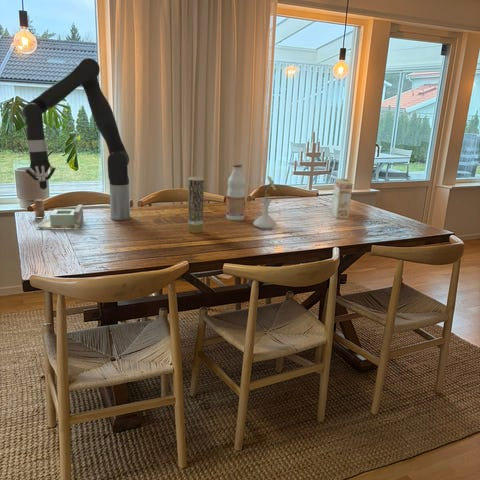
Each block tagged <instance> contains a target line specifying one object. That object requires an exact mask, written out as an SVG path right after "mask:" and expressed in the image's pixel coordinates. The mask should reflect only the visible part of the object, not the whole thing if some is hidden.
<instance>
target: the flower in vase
mask: <svg viewBox="0 0 480 480" xmlns="http://www.w3.org/2000/svg"><path fill="white" fill-rule="evenodd" d="M267 179H268V182H269V184H268V186H267V188H266V189H265V191H264V192H265V195H264V197H265V198H262V199H261V201H262V205H263V213H262V215H260V216H258V218H256V219H255V220H254V221H253V225H254V226H255V227H257V228H260V229H274V228H276V226H277V222H276V221H275V220H274V219H273V218H272V217H271V216H270V215H269V208H270V207H269V206H270V204H271V202H272V199H270V198H268V196H270V195H271V194H270V193H267V191H268V189H269V186H271V188H272V189H273V190H274V191H277V188H276V185H275V184H274V180H272V177H271V176H270V175H267Z"/></svg>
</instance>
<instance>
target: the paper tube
mask: <svg viewBox="0 0 480 480" xmlns="http://www.w3.org/2000/svg"><path fill="white" fill-rule="evenodd" d="M204 186H205V177H202V176H189V177H188V204H187V205H188V206H187V207H188V209H187V212H188V213H187V214H188V215H187V218H188V219H187V231H188V232H189V233H190V234H191V233H192V234H199V233H200V232H201V233H203V231H204V194H205V187H204Z"/></svg>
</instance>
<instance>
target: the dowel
mask: <svg viewBox="0 0 480 480" xmlns="http://www.w3.org/2000/svg"><path fill="white" fill-rule="evenodd" d="M33 201H34V213H35V218H36V217H44V216H45V214H46V213H45V205H44V203H45V202H44V199H39V198H38V199H35V200H33ZM45 217H46V216H45Z"/></svg>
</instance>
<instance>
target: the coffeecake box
mask: <svg viewBox="0 0 480 480" xmlns="http://www.w3.org/2000/svg"><path fill="white" fill-rule="evenodd" d="M353 185H354V184H353V183H352V182H351V181H349V180H348V179H346V178H334V184H333V186H334V187H333V196H332V203H331V214H332V216H334V218H335V219H340V220H349V215H350V207H351V199H352V192H353V191H352V190H353Z"/></svg>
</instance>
